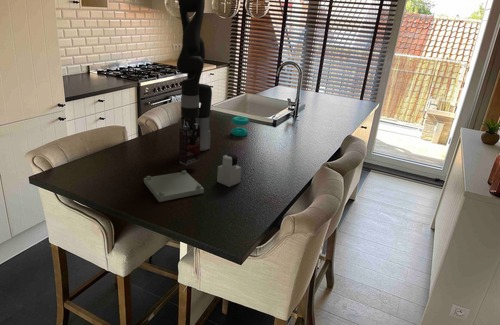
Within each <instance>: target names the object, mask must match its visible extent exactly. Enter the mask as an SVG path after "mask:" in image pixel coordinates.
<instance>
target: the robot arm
mask: <svg viewBox="0 0 500 325" xmlns="http://www.w3.org/2000/svg"><path fill="white" fill-rule="evenodd" d="M205 2H206V1H205V0H177V3H178V10H179V15H180V16H179V17H180V22H181V26H182V28H181V29H182V41H181V42H182V46H181V50H180V52H179V55H178V58H177V61H176V68H177V71H178V72H179V73H180V74H183V75H185V74H186V75H187V76H186V79H183V80H182V81H181V96H180V97H181V98H180V115H181V117H180V119H181V121H180V122H181V128H185V127H187V128H188V130H189V132H190V145H191V146H193V145H196V137H198V136H199V127H200V152H204V151H207V150H210V149H211V130H210V113H211V108H212V99H213V98H212V97H213V89H212V87H211V86H210V85H209V84H205V83H200V80H201V75H202V73H203V70H204V65H205V63H204V62H205V60H206V59H205V58H206V51H205V50H206V49H205V42H204V40H203V38H202V36H201V30H202V25H203V18H204V14H205V13H204V12H205V7H206V5H205V4H206V3H205ZM189 13H194V16H193V17H192V19H190V16H189ZM191 129H193V130H191ZM196 132H197V134H196Z"/></svg>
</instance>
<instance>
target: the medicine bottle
mask: <svg viewBox="0 0 500 325" xmlns="http://www.w3.org/2000/svg"><path fill="white" fill-rule="evenodd" d="M241 175H242V167H241V166H239V165H238V156H237V155H235V154H232V153H228V154H224V155H223V156H222V164H221V165H218V166H217V178H216V181H217V183H219V184H221V185H223V186H226V187H227V188H230V187H232V186H235V185H237V184H239V183H241V178H242V176H241Z"/></svg>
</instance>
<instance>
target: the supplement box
mask: <svg viewBox="0 0 500 325" xmlns="http://www.w3.org/2000/svg"><path fill="white" fill-rule="evenodd" d="M191 130H193V129H191ZM196 134H197V132H196ZM178 142H179V146H178V147H179V150H178V151H179V153H178V156H179V158H178V161H179V164H181V165H184V166H188V165H191V164H194V163H197V162H200V160H201V151H200V127H199V136H198V137H196V145H193V146H191V145H190V132H189V130H188V128H187V127H185V128H182V127H181V128H179V141H178Z"/></svg>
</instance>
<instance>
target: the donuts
mask: <svg viewBox="0 0 500 325" xmlns="http://www.w3.org/2000/svg"><path fill="white" fill-rule="evenodd" d="M231 122H232V123H233V124H234V125H236V126H246V125H248V124H249V123H250V119H249V118H247V117H245V116H234V117H232V118H231ZM230 134H232V136H235V137H240V138H241V137H246V136H248V135H249V131H248V130H247V128H244V127H234V128H232V129H231V132H230Z"/></svg>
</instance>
